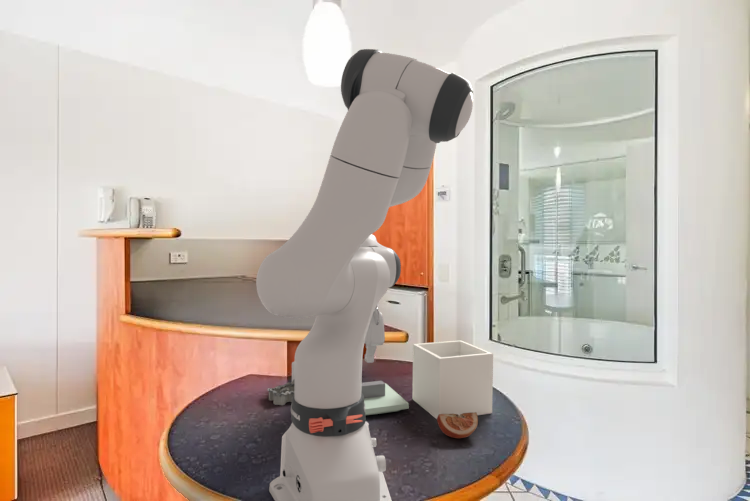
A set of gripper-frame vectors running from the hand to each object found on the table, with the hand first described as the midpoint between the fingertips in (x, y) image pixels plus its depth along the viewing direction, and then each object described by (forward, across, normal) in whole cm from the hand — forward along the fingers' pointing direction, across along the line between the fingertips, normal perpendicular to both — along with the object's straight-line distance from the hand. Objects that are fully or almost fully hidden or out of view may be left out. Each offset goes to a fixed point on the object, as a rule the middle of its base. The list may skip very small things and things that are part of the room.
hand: (361, 357), depth 103 cm
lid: (+11, 0, -2) cm, 11 cm away
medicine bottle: (+11, +18, +8) cm, 23 cm away
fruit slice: (+13, -22, -12) cm, 29 cm away
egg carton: (+11, +12, +15) cm, 22 cm away
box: (+12, -8, -20) cm, 25 cm away
